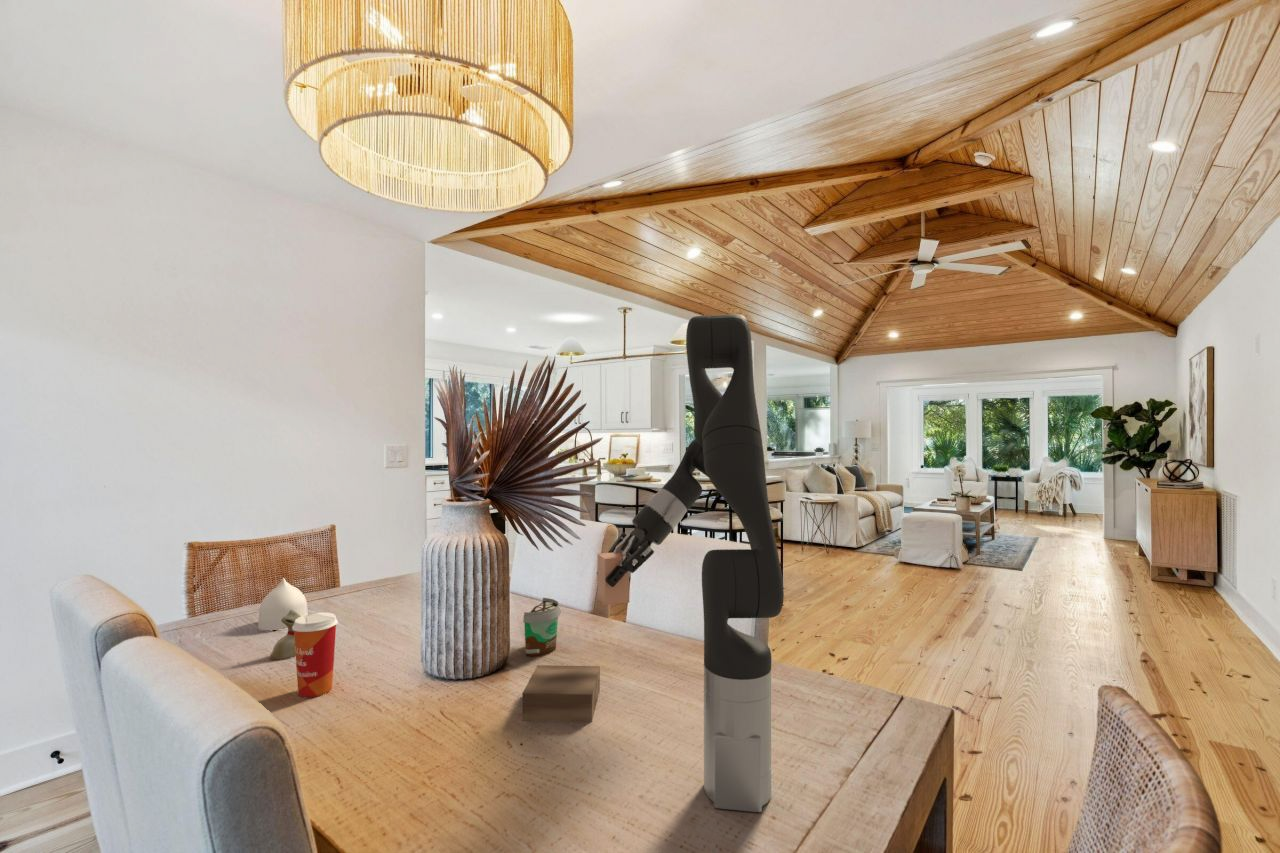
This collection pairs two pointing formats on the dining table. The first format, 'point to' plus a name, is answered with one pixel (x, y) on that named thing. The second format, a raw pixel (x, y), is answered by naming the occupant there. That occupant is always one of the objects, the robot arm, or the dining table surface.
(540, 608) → the food container
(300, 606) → the teardrop
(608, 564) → the peach tall block
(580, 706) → the walnut block
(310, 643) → the paper cup
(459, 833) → the dining table surface
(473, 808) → the dining table surface
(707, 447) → the robot arm
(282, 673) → the dining table surface
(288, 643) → the tied pouch
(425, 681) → the dining table surface
